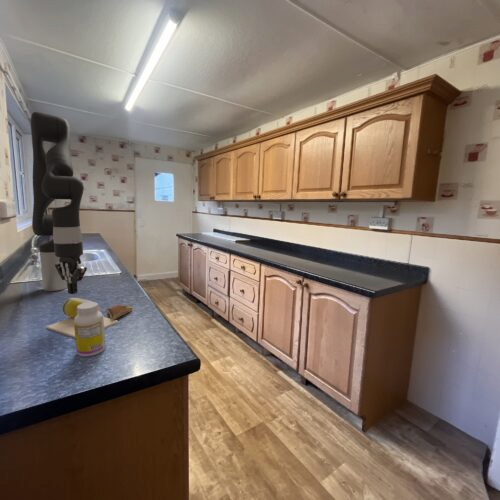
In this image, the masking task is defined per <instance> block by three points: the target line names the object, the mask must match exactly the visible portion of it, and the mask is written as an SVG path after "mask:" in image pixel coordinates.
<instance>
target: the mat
mask: <svg viewBox="0 0 500 500" xmlns="http://www.w3.org/2000/svg"><path fill="white" fill-rule="evenodd" d="M103 320H104V330H105V329H108V328H110V327H111V326H114V325H116V324H118V323H119V320H117V319H114V320H113V319H111V317H106V316H103ZM45 327H46V329H47V330H50V331H52V332H56V333H60V334H62V335H65V336H68V337H70V338H74V339H75V329H74V318H73V317H68V318H66V319H63V320H61V321H57V322H54V323H52V324H48V325H46V326H45Z"/></svg>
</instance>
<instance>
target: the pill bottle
mask: <svg viewBox="0 0 500 500" xmlns="http://www.w3.org/2000/svg"><path fill="white" fill-rule="evenodd" d="M88 302H94V301H93V300H92V301H91V300H89V299H84V298H80V297H69V298H68V299H66V300H65V302H64V303H63V306H62V312H63V314H64V315H65V316H67V317H68V318H71V317H73V318H75V317H76V316H77V315H78V314H79V313H78V312H77V306H78V305H80V304H83V303H88ZM98 311H99V312H101V313H102V308H101V307H100V306H99V305H98Z"/></svg>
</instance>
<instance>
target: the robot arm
mask: <svg viewBox="0 0 500 500" xmlns="http://www.w3.org/2000/svg"><path fill="white" fill-rule="evenodd" d="M30 133H31V146H32V192H33V194H32V195H33V207H32V219H31V220H32V221H31V224H32V225H31V227H32V231H33V233H34V234H35V236H37V237H48V236H49V237H51V236H52V237H53V239H51V240H49V241H47V242H44V243H42V244H40V245H39V257H40V266H41V267H40V271H41V272H40V273H41V281H42V289H43V291H44V292H45V291H46V292H56V291H61V290H66V289H67V294H69V295H74V294H78V282H81V281H82V280H83V279H84V276H85V274H86V272H87V271H88V267H86V266H83V265H82V261H81V258H80V257H81V256H83V255H84V247H83V234H82V230H81V229H82V228H81V224H80V221H81V220H80V207H81V202H82V197H83V194H84V190H85V189H84V184H83V181H82V180H81V179H80V178H79V177H77V176H74V169H73V164H72V159H71V129H70V125H69V122H68V120H67V119H66V118H63V117H60V116H57V115H52V114H48V113H43V112H39V111H33V112H32V114H31V117H30ZM43 142H47V143H48V142H49V143H53V144H54V145H53V146H51V147H50V148H49V149H48V150H46V148H45V145H44V144H43ZM55 200H69V201H70V203H69V204H68V205H65V206H59V207H55V208H52V209H51V210H52V211H51V214H45V213H46V210H47V209H48V207H49V206H51V204H52V203H53V202H54V201H55Z"/></svg>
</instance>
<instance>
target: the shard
mask: <svg viewBox="0 0 500 500" xmlns="http://www.w3.org/2000/svg"><path fill="white" fill-rule="evenodd" d="M106 311H107V312H108V313H109V318H110V319H113V320H117V319H118V318H120V317H121V316H124V315H125V314H128V313H130V312H132V311H133V307H131V306H130V305H129V306H128V305H122V304H121V305H120V304H116V305H114V306H111V307H108V308H107V309H106Z"/></svg>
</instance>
